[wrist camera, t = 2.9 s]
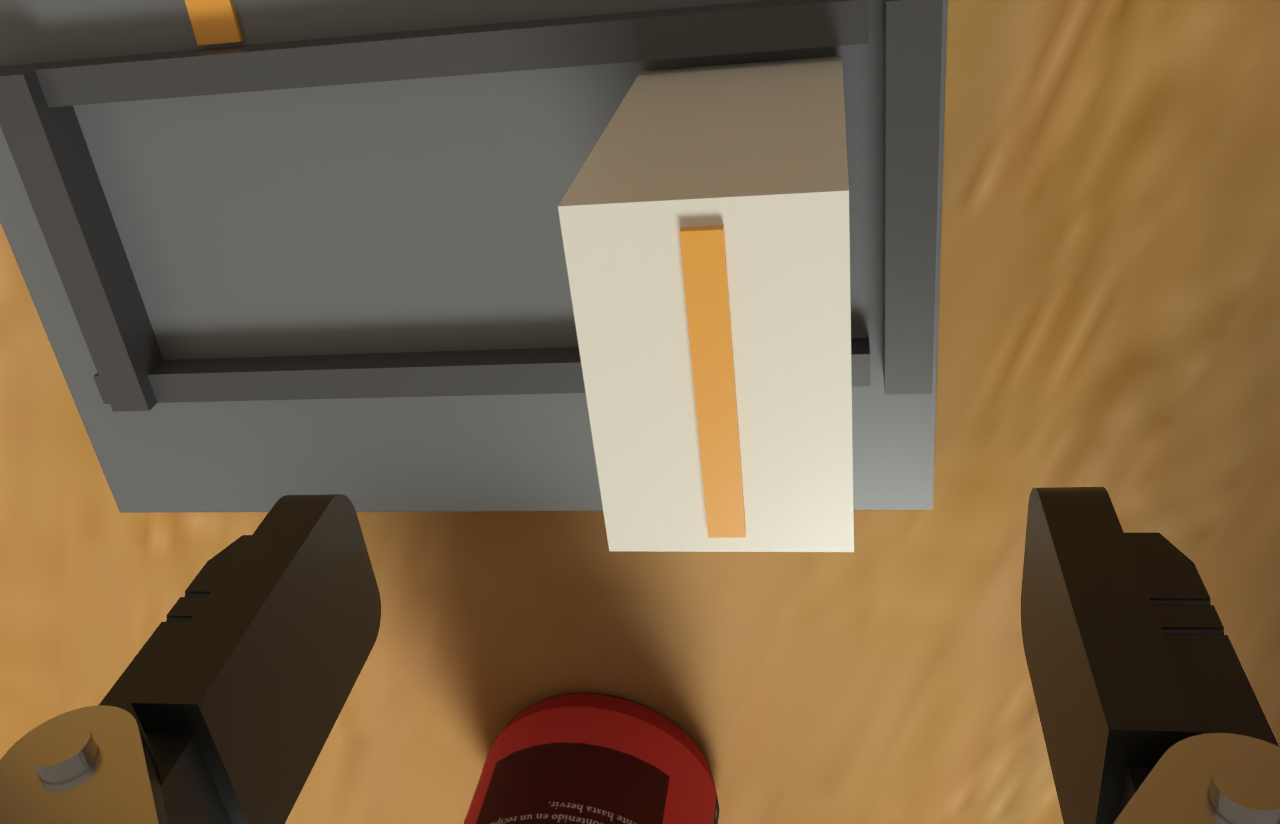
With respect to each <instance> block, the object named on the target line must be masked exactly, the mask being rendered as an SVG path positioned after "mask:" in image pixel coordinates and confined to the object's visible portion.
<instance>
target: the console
mask: <svg viewBox="0 0 1280 824" xmlns="http://www.w3.org/2000/svg"><path fill="white" fill-rule="evenodd" d="M947 6H948V0H0V222H1V224H2V227H3V229H4V232H5V234H6V237H7V239H8V241H9V244H10V246H11V249H12V251H13V254H14V256H15V258H16V261H17V263H18V266H19V268H20V271H21V273H22V275H23V278H24V280H25V283H26V285H27V288H28V290H29V292H30V295H31V297H32V300H33V302H34V305H35V307H36V309H37V312H38V314H39V317H40V319H41V322H42V324H43V326H44V329H45V331H46V334H47V336H48V339H49V341H50V343H51V346H52V348H53V351H54V353H55V356H56V358H57V360H58V363H59V365H60V368H61V370H62V373H63V375H64V377H65V380H66V382H67V385H68V387H69V390H70V392H71V394H72V397H73V399H74V402H75V404H76V407H77V409H78V411H79V414H80V416H81V419H82V421H83V424H84V426H85V428H86V431H87V433H88V436H89V438H90V441H91V443H92V445H93V448H94V450H95V453H96V455H97V458H98V460H99V463H100V465H101V467H102V470H103V472H104V475H105V477H106V480H107V482H108V484H109V487H110V489H111V492H112V494H113V497H114V499H115V501H116V504H117V506H118V509H119V511H120V513H123V512H269V511H270V510H271V509H272V507H273V506H274V505H275V503H276V502H277V501H278V500H279V499H280V498H281V497H282V496H285V495H331V494H343V495H346V496H347V497H348V498H349V499H350V500H351V502H352V503H353V505H354V508H355V511H356V512H389V511H603V506H602V499H601V493H600V486H599V479H598V472H597V466H596V459H595V452H594V446H593V439H592V432H591V426H590V419H589V412H588V406H587V399H586V392H585V385H584V379H583V372H582V365H581V359H580V352H579V345H578V339H577V332H576V325H575V319H574V312H573V305H572V298H571V292H570V285H569V278H568V272H567V265H566V258H565V252H564V245H563V238H562V232H561V225H560V218H559V211H558V205H559V204H560V202H561V200H562V199H563V197H564V195H565V194H566V192H567V191H568V189H569V187H570V186H571V184H572V182H573V181H574V179H575V177H576V176H577V174H578V173H579V171H580V169H581V168H582V166H583V164H584V163H585V161H586V159H587V158H588V156H589V155H590V153H591V151H592V150H593V148H594V146H595V145H596V143H597V142H598V140H599V138H600V137H601V135H602V133H603V132H604V130H605V128H606V127H607V125H608V124H609V122H610V120H611V119H612V117H613V115H614V114H615V112H616V111H617V109H618V107H619V106H620V104H621V102H622V101H623V99H624V97H625V96H626V94H627V93H628V91H629V89H630V88H631V86H632V84H633V83H634V81H635V79H636V78H637V76H638V75H639V73H640V71H650V70H663V69H676V68H689V67H702V66H715V65H728V64H742V63H755V62H768V61H781V60H794V59H807V58H820V57H833V56H842V66H843V85H844V104H845V124H846V143H847V163H848V182H849V231H850V303H851V375H852V447H853V510H922V509H933V486H934V452H935V418H936V384H937V349H938V315H939V281H940V246H941V212H942V178H943V143H944V109H945V75H946V40H947Z"/></svg>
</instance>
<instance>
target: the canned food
mask: <svg viewBox="0 0 1280 824" xmlns="http://www.w3.org/2000/svg"><path fill="white" fill-rule="evenodd" d="M718 817H719V805H718V799H717V793H716V788H715V784H714V780H713V776H712V773H711V770H710V768H709V766H708V763H707V761H706V759H705V756H704V755H703V754H702V752H701V751H700V749H699V748H698V747H697V745H696V744H695V742H694V741H693V740H692V739H691V738H690V737H689V736H688V735H687V734H686V733H685V732H684V731H683V730H681V729H680V728H679V727H678V726H677V725H675V724H674V723H672V722H671V721H669V720H668V719H667V718H665V717H664V716H662V715H661V714H659V713H657V712H655V711H652V710H650V709H648V708H646V707H644V706H642V705H640V704H637V703H634V702H630V701H627V700H624V699H621V698H617V697H611V696H605V695H599V694H569V695H563V696H556V697H552V698H549V699H546V700H543V701H540V702H537V703H535V704H533V705H532V706H530V707H528V708H527V709H525V710H523V711H522V712H520V713H519V714H518V715H517V716H516V717H515V718H514V719H513V720H512V721H511V722H510V723H509V724H508V725H507V727H506V728H505V729H504V730H503V731H502V733H501V734H500V735H499V736H498V737H497V739H496V740H495V742H494V744H493V746H492V747H491V749H490V751H489V753H488V755H487V758H486V761H485V764H484V767H483V769H482V772H481V775H480V778H479V781H478V784H477V787H476V789H475V792H474V795H473V798H472V801H471V804H470V807H469V809H468V812H467V815H466V818H465V821H464V824H718Z"/></svg>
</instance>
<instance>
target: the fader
mask: <svg viewBox="0 0 1280 824" xmlns="http://www.w3.org/2000/svg"><path fill="white" fill-rule="evenodd" d="M558 211H559V218H560V225H561V232H562V238H563V245H564V252H565V258H566V265H567V272H568V278H569V285H570V292H571V298H572V305H573V312H574V319H575V325H576V332H577V339H578V345H579V352H580V359H581V365H582V372H583V379H584V385H585V392H586V399H587V406H588V412H589V419H590V426H591V432H592V439H593V446H594V452H595V459H596V466H597V472H598V479H599V486H600V493H601V499H602V506H603V513H604V519H605V526H606V533H607V539H608V546H609V551H682V552H854V519H853V447H852V375H851V303H850V231H849V182H848V163H847V143H846V124H845V104H844V85H843V66H842V56H833V57H820V58H807V59H794V60H781V61H768V62H755V63H742V64H728V65H715V66H702V67H689V68H676V69H663V70H650V71H640V73H639V75H638V76H637V78H636V79H635V81H634V83H633V84H632V86H631V88H630V89H629V91H628V93H627V94H626V96H625V97H624V99H623V101H622V102H621V104H620V106H619V107H618V109H617V111H616V112H615V114H614V115H613V117H612V119H611V120H610V122H609V124H608V125H607V127H606V128H605V130H604V132H603V133H602V135H601V137H600V138H599V140H598V142H597V143H596V145H595V146H594V148H593V150H592V151H591V153H590V155H589V156H588V158H587V159H586V161H585V163H584V164H583V166H582V168H581V169H580V171H579V173H578V174H577V176H576V177H575V179H574V181H573V182H572V184H571V186H570V187H569V189H568V191H567V192H566V194H565V195H564V197H563V199H562V200H561V202H560V204H559V205H558Z"/></svg>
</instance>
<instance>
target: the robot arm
mask: <svg viewBox="0 0 1280 824" xmlns="http://www.w3.org/2000/svg"><path fill="white" fill-rule="evenodd" d="M380 619H381V601H380V594H379V590H378V586H377V583H376V579H375V576H374V572H373V569H372V565H371V562H370V559H369V555H368V552H367V548H366V545H365V541H364V538H363V534H362V531H361V528H360V524H359V521H358V517H357V514H356V511H355V508H354V505H353V503H352V502H351V500H350V499H349V498H348V497H347V496H346V495H343V494H331V495H285V496H282V497H281V498H280V499H279V500H278V501H277V502H276V503H275V505H274V506H273V507H272V509H271V510H270V511H269V513H268V514H267V516H266V517H265V518H264V520H263V521H262V523H261V524H260V525H259V527H258V528H257V529H256V531H255V532H254V534H253V535H243V536H241V537H240V538H239V539H237V540H236V541H235V542H233V543H232V544H230V545H229V546H228V547H226V548H225V549H224V550H222V551H221V552H220V553H218V554H217V555H216V556H214V557H213V558H212V559H210V560H209V561H208V562H207V563H206V564H205V566H204V567H203V568H202V570H201V571H200V572H199V573H198V575H197V576H196V577H195V579H194V580H193V581H192V583H191V584H190V585H189V587H188V588H187V589H186V591H185V597H180V599H179V600H178V601H177V603H176V604H175V605H174V606H173V608H172V609H171V610H170V612H169V613H168V614H167V621H166V622H161V624H160V625H159V626H158V628H157V629H156V630H155V632H154V633H153V634H152V636H151V637H150V638H149V640H148V641H147V642H146V643H145V645H144V646H143V647H142V649H141V650H140V651H139V653H138V654H137V655H136V657H135V658H134V659H133V661H132V662H131V663H130V665H129V666H128V667H127V669H126V670H125V671H124V673H123V674H122V675H121V677H120V678H119V679H118V680H117V682H116V683H115V684H114V686H113V687H112V688H111V690H110V691H109V692H108V694H107V695H106V696H105V698H104V699H103V700H102V702H101V703H100V704H99V706H90V707H84V708H80V709H76V710H72V711H69V712H66V713H64V714H61V715H59V716H56V717H54V718H52V719H50V720H48V721H46V722H44V723H43V724H41V725H39V726H37V727H36V728H34V729H33V730H31V731H30V732H28V733H27V734H26V735H24V736H23V737H22V738H21V739H20V740H18V741H17V742H16V743H15V744H14V745H13V746H12V747H11V748H10V749H9V750H8V751H7V752H6V754H5V755H4V756H3V758H2V759H1V760H0V824H285V822H286V820H287V818H288V816H289V814H290V812H291V810H292V808H293V806H294V804H295V802H296V800H297V798H298V796H299V794H300V792H301V790H302V788H303V786H304V784H305V782H306V780H307V778H308V776H309V774H310V772H311V770H312V768H313V766H314V764H315V762H316V760H317V758H318V756H319V754H320V752H321V750H322V748H323V746H324V744H325V742H326V740H327V738H328V736H329V734H330V732H331V730H332V728H333V726H334V724H335V722H336V720H337V718H338V716H339V714H340V712H341V710H342V708H343V706H344V704H345V702H346V700H347V698H348V696H349V694H350V692H351V690H352V688H353V686H354V684H355V682H356V680H357V678H358V676H359V674H360V672H361V670H362V668H363V666H364V664H365V662H366V660H367V658H368V656H369V654H370V652H371V650H372V648H373V646H374V644H375V641H376V638H377V635H378V631H379V627H380ZM1021 625H1022V637H1023V645H1024V651H1025V656H1026V660H1027V665H1028V669H1029V673H1030V678H1031V682H1032V686H1033V691H1034V695H1035V699H1036V704H1037V708H1038V713H1039V717H1040V721H1041V726H1042V730H1043V734H1044V739H1045V743H1046V747H1047V752H1048V756H1049V760H1050V765H1051V769H1052V774H1053V778H1054V782H1055V787H1056V791H1057V795H1058V800H1059V804H1060V808H1061V813H1062V817H1063V821H1064V824H1280V747H1279V745H1278V743H1277V741H1276V739H1275V737H1274V735H1273V733H1272V730H1271V728H1270V726H1269V724H1268V722H1267V720H1266V717H1265V715H1264V713H1263V711H1262V709H1261V707H1260V705H1259V702H1258V700H1257V698H1256V696H1255V694H1254V692H1253V689H1252V687H1251V685H1250V683H1249V681H1248V679H1247V677H1246V674H1245V672H1244V670H1243V668H1242V666H1241V664H1240V661H1239V659H1238V657H1237V655H1236V653H1235V651H1234V649H1233V646H1232V644H1231V642H1230V640H1229V638H1228V636H1227V635H1224V627H1223V625H1222V623H1221V621H1220V618H1219V616H1218V614H1217V612H1216V610H1215V608H1214V605H1211V604H1210V597H1209V595H1208V593H1207V590H1206V588H1205V586H1204V584H1203V582H1202V580H1201V577H1200V575H1199V573H1198V571H1197V569H1196V567H1195V564H1194V563H1193V562H1192V561H1191V560H1190V559H1188V558H1187V557H1186V556H1185V555H1184V554H1183V553H1182V552H1180V551H1179V550H1178V549H1177V548H1176V547H1175V546H1174V545H1172V544H1171V543H1170V542H1169V541H1168V540H1167V539H1165V538H1164V537H1163V536H1162V535H1161V534H1160V533H1123V530H1122V527H1121V525H1120V522H1119V520H1118V517H1117V515H1116V512H1115V510H1114V507H1113V504H1112V502H1111V499H1110V497H1109V494H1108V492H1107V491H1106V489H1105V488H1104V487H1071V488H1033V489H1032V491H1031V494H1030V498H1029V506H1028V517H1027V530H1026V542H1025V555H1024V567H1023V579H1022V592H1021Z"/></svg>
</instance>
